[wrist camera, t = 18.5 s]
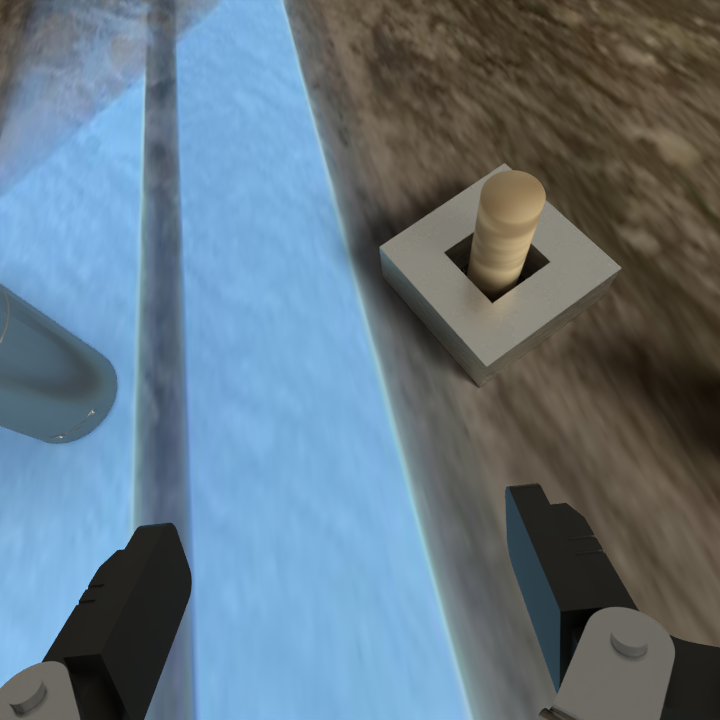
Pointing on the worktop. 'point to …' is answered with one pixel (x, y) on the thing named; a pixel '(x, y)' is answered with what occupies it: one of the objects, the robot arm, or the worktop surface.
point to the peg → (504, 231)
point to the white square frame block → (470, 306)
